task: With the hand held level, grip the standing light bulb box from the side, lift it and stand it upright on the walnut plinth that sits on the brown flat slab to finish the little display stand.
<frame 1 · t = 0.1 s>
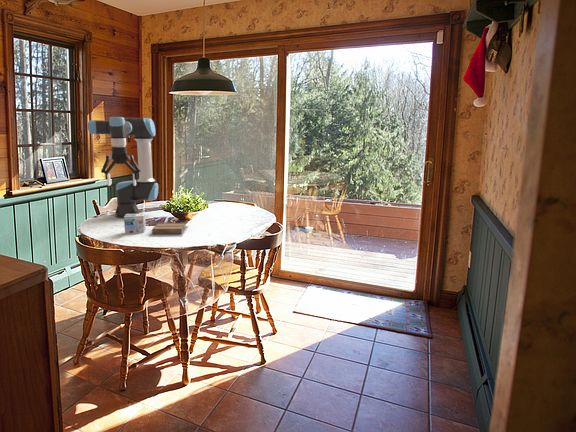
hand: (122, 185, 225), 28 cm above the table, tool pointing down, fingers open, 13 cm apart
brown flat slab: (169, 232, 236), on the table
walnut plinth: (169, 231, 236), resting on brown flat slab
light bulb box: (135, 233, 234), on the table
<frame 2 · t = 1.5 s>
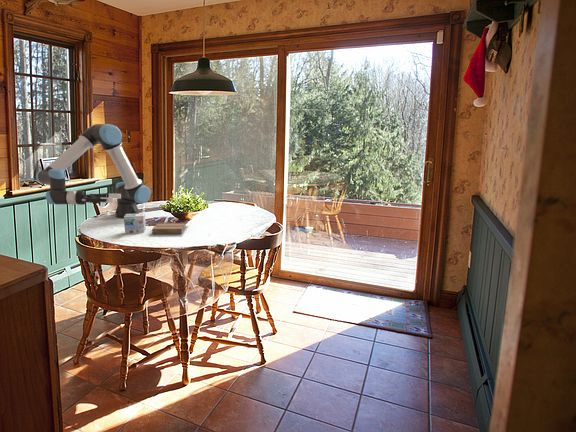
hand: (117, 198, 229), 20 cm above the table, tool horizontal, fingers open, 13 cm apart
nothing on the table moved.
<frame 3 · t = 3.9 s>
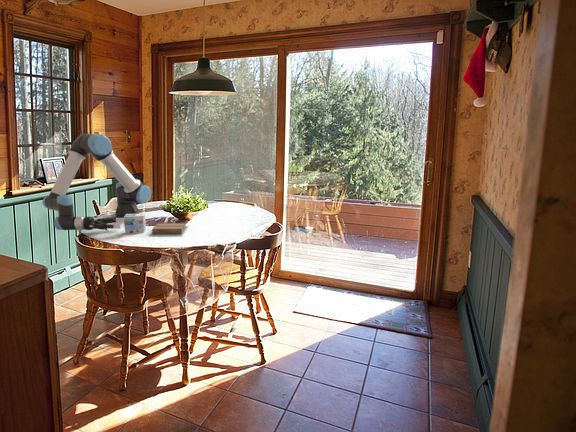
hand: (123, 223, 232), 6 cm above the table, tool horizontal, fingers open, 13 cm apart
nothing on the table moved.
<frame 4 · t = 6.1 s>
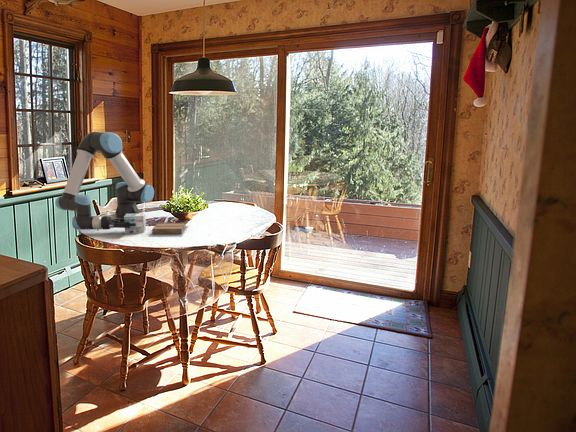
hand: (143, 222, 233), 6 cm above the table, tool horizontal, fingers closed on light bulb box, 7 cm apart
light bulb box: (135, 233, 234), on the table, touching gripper
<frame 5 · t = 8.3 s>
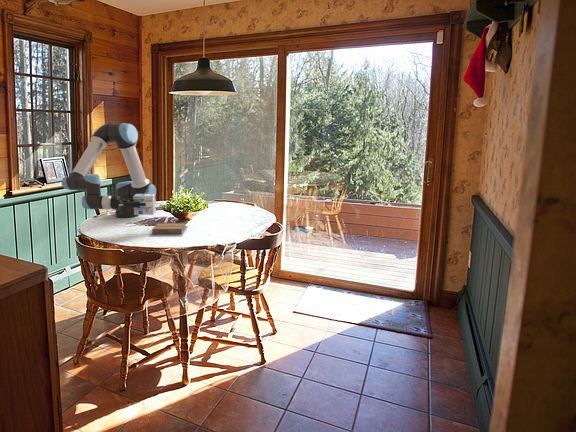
hand: (153, 202, 229), 18 cm above the table, tool horizontal, fingers closed on light bulb box, 7 cm apart
light bulb box: (145, 213, 231), point 12 cm above the table, touching gripper
when the fingers open (11 cm above the table, at t = 10.6 s): light bulb box drops 1 cm, resting on walnut plinth.
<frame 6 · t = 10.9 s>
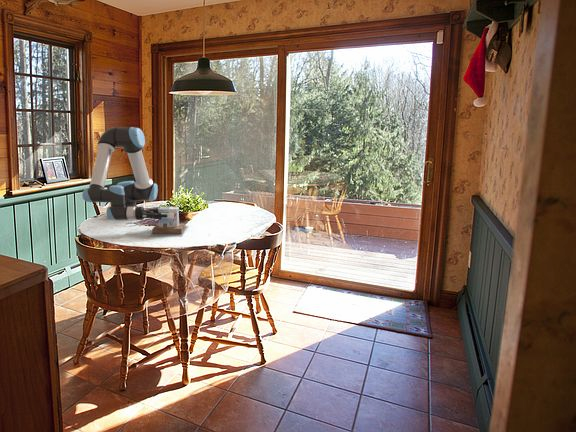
hand: (175, 213, 234), 11 cm above the table, tool horizontal, fingers open, 11 cm apart
light bulb box: (169, 226, 235), point 4 cm above the table, touching walnut plinth
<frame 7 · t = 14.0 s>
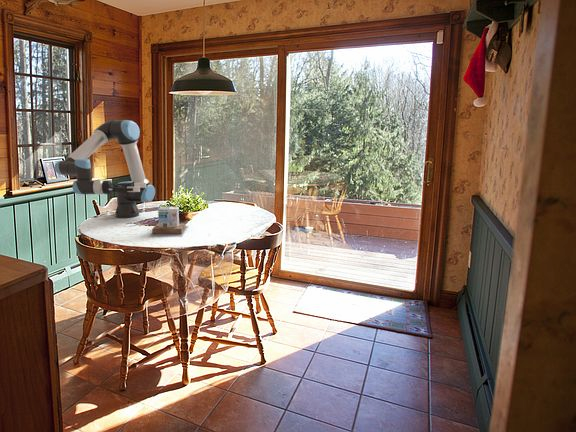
hand: (142, 187, 229), 27 cm above the table, tool horizontal, fingers open, 13 cm apart
nothing on the table moved.
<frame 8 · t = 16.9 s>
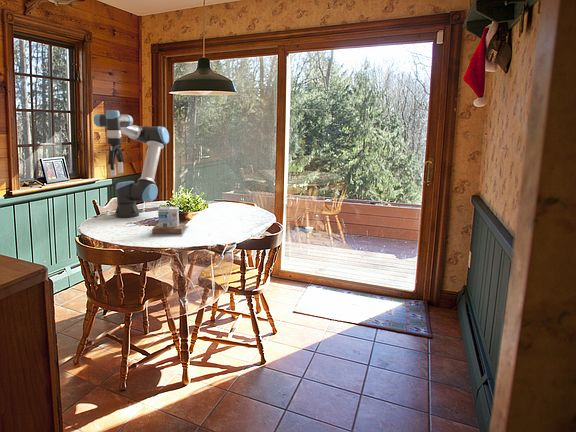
hand: (117, 174, 242), 32 cm above the table, tool pointing down, fingers open, 13 cm apart
nothing on the table moved.
at the end: light bulb box inside the target area (0.1 cm from its centre), point 3.8 cm above the table; light bulb box tilted 0°; the gripper is holding nothing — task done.
